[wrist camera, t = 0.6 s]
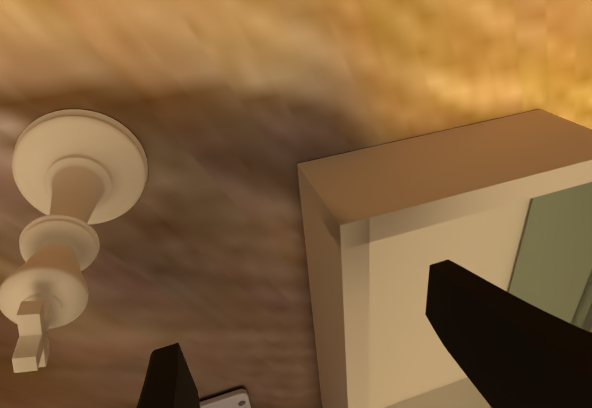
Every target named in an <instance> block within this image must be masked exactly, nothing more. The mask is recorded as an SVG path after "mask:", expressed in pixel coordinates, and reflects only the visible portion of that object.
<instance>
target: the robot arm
mask: <svg viewBox="0 0 592 408" xmlns="http://www.w3.org/2000/svg"><path fill="white" fill-rule="evenodd" d="M425 315H426V317H427V318H428V320H429V322H430V324H431V325H432V327H433V329H434V331H435V332H436V334H437V335H438V337H439V339H440V340H441V342H442V344H443V345H444V347H445V348H446V349H447V351H448V352H449V353H450V355H451V356H452V357H453V359H454V360H455V361H456V362H457V364H458V365H459V366H460V368H461V369H462V370H463V372H464V373H465V374H466V375H467V377H468V378H469V379H470V381H471V382H472V383H473V384H474V386H475V387H476V388H477V390H478V391H479V392H480V393H481V395H482V396H483V397H484V399H485V400H486V401H487V403H488V404H489V405H490V406H491V408H592V333H591V332H589V331H586V330H584V329H582V328H579V327H577V326H575V325H573V324H570V323H568V322H566V321H564V320H562V319H560V318H558V317H556V316H554V315H552V314H549V313H547V312H545V311H543V310H541V309H539V308H537V307H535V306H533V305H531V304H529V303H527V302H526V301H524V300H522V299H520V298H518V297H516V296H514V295H512V294H510V293H509V292H507V291H505V290H503V289H501V288H499V287H498V286H496V285H494V284H492V283H490V282H489V281H487V280H485V279H483V278H481V277H480V276H478V275H476V274H474V273H472V272H471V271H469V270H467V269H465V268H464V267H462V266H460V265H458V264H456V263H454V262H452V261H451V260H449V259H448V260H444V261H441V262H438V263H435V264H431V265H430V266H429V277H428V289H427V300H426V312H425ZM137 408H251V405H250V401H249V397H248V394H247V391H246V390H244V389H238V390H235V391H232V392H229V393H226V394H223V395H220V396H217V397H214V398H211V399H208V400H205V401H202V402H199V397H198V391H197V388H196V386H195V383H194V381H193V378H192V376H191V373H190V371H189V368H188V366H187V363H186V361H185V358H184V356H183V353H182V351H181V348H180V346H179V343H176V344H173V345H169V346H166V347H163V348H160V349H156V350H154V351H153V352H152V354H151V356H150V361H149V365H148V369H147V373H146V377H145V381H144V385H143V388H142V392H141V395H140V398H139V402H138V405H137Z"/></svg>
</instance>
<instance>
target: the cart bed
mask: <svg viewBox="0 0 592 408" xmlns="http://www.w3.org/2000/svg"><path fill="white" fill-rule="evenodd" d="M297 170H298V180H299V189H300V199H301V209H302V218H303V228H304V238H305V248H306V257H307V267H308V277H309V286H310V296H311V306H312V316H313V325H314V335H315V345H316V354H317V364H318V374H319V383H320V393H321V403H322V408H491V406H490V405H489V404H488V403H487V401H486V400H485V399H484V397H483V396H482V395H481V393H480V392H479V391H478V390H477V388H476V387H475V386H474V384H473V383H472V382H471V381H470V379H469V378H468V377H467V375H466V374H465V373H464V372H463V370H462V369H461V368H460V366H459V365H458V364H457V362H456V361H455V360H454V359H453V357H452V356H451V355H450V353H449V352H448V351H447V349H446V348H445V347H444V345H443V344H442V342H441V340H440V339H439V337H438V335H437V334H436V332H435V331H434V329H433V327H432V325H431V324H430V322H429V320H428V318H427V317H426V315H425V312H426V300H427V289H428V277H429V266H430V265H431V264H435V263H438V262H441V261H444V260H448V259H449V260H451V261H452V262H454V263H456V264H458V265H460V266H462V267H464V268H465V269H467V270H469V271H471V272H472V273H474V274H476V275H478V276H480V277H481V278H483V279H485V280H487V281H489V282H490V283H492V284H494V285H496V286H498V287H499V288H501V289H503V290H505V291H507V292H509V290H510V286H511V282H512V278H513V274H514V270H515V266H516V263H517V259H518V255H519V251H520V247H521V243H522V239H523V236H524V232H525V228H526V224H527V220H528V216H529V212H530V208H531V205H532V201H533V198H534V197H538V196H542V195H545V194H549V193H553V192H556V191H560V190H564V189H567V188H571V187H574V186H578V185H582V184H585V183H589V182H592V130H591V129H589V128H586V127H584V126H581V125H579V124H576V123H574V122H571V121H569V120H566V119H564V118H561V117H559V116H556V115H554V114H551V113H549V112H546V111H544V110H541V109H538V110H534V111H529V112H525V113H521V114H516V115H512V116H507V117H503V118H498V119H494V120H489V121H485V122H481V123H476V124H472V125H467V126H463V127H458V128H454V129H449V130H445V131H441V132H436V133H432V134H427V135H423V136H418V137H414V138H409V139H405V140H400V141H396V142H392V143H387V144H383V145H378V146H374V147H369V148H365V149H360V150H356V151H352V152H347V153H343V154H338V155H334V156H329V157H325V158H320V159H316V160H312V161H307V162H303V163H298V164H297Z"/></svg>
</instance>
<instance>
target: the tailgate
mask: <svg viewBox="0 0 592 408" xmlns="http://www.w3.org/2000/svg"><path fill="white" fill-rule="evenodd" d="M509 293H510V294H512V295H514V296H516V297H518V298H520V299H522V300H524V301H526V302H527V303H529V304H531V305H533V306H535V307H537V308H539V309H541V310H543V311H545V312H547V313H549V314H552V315H554V316H556V317H558V318H560V319H562V320H564V321H566V322H568V323H570V324H573V325H575V326H577V327H579V328H582V329H584V330H586V331H589V332H590V329H591V327H592V182H589V183H585V184H582V185H578V186H574V187H571V188H567V189H564V190H560V191H556V192H553V193H549V194H545V195H542V196H538V197H534V198H533V201H532V205H531V208H530V212H529V216H528V220H527V224H526V228H525V232H524V236H523V239H522V243H521V247H520V251H519V255H518V259H517V263H516V266H515V270H514V274H513V278H512V282H511V286H510V290H509Z"/></svg>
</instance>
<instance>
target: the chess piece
mask: <svg viewBox="0 0 592 408" xmlns="http://www.w3.org/2000/svg"><path fill="white" fill-rule="evenodd" d="M12 172H13V176H14V180H15V182H16V185H17V187H18V189H19V190H20V192H21V193H22V195H23V196H24V197H25V199H26V200H27V201H28V202H29V203H30V204H31V205H33V206H34V207H35V208H36V209H38V210H39V211H41V212H42V213H44V214H46V216H43V217H40V218H37V219H35V220H33V221H32V222H30V223H29V224H28V225H27V226H26V227H25V228H24V229H23V231H22V233H21V235H20V239H19V246H20V252H21V255H22V257H23V259H24V260H25V261H26V263H24V264H23V265H21V266H20V267H18V268H17V269H16V270H15V271H13V272H12V273H11V274H10V275H9V276H8V277H7V278H6V279H5V280H4V282H3V283H2V284H1V286H0V310H1V311H2V313H3V314H4V315H5V316H6V317H7V318H8V319H10V320H11V321H13V322H14V323H16V324H18V330H19V339H18V342H17V345H16V348H15V351H14V354H13V357H12V363H13V369H14V373H17V372H27V371H38V367H46V364H47V360H48V356H49V345H48V336H47V333H48V329H51V328H56V327H60V326H63V325H66V324H68V323H70V322H72V321H73V320H75V319H76V318H78V317H79V316H80V315H81V314H82V312H83V311H84V310H85V308H86V306H87V303H88V289H87V285H86V282H85V279H84V277H83V275H82V273H81V271H82V270H84V269H85V268H87V267H88V266H89V265H90V264H91V263H92V262H93V261H94V259H95V258H96V256H97V255H98V252H99V248H100V242H99V238H98V235H97V233H96V232H95V230H94V229H93V228H92V227H91V226H90V225H89V224H97V223H103V222H106V221H110V220H112V219H115V218H117V217H119V216H121V215H122V214H124V213H126V212H127V211H128V210H129V209H131V208H132V207H133V206H134V205H135V203H136V202H137V201H138V199H139V198H140V196H141V194H142V192H143V190H144V187H145V184H146V181H147V176H148V163H147V158H146V155H145V152H144V150H143V147H142V146H141V144H140V142H139V141H138V139H137V138H136V137H135V136H134V135H133V133H132V132H131V131H130V130H129V129H127V128H126V127H125V126H124V125H122V124H121V123H119V122H118V121H116V120H114V119H113V118H111V117H108V116H106V115H104V114H101V113H98V112H94V111H89V110H82V109H66V110H59V111H55V112H51V113H48V114H46V115H43V116H41V117H39V118H38V119H36V120H35V121H33V122H32V123H31V124H29V125H28V126H27V127H26V128H25V129H24V131H23V132H22V133H21V135H20V136H19V138H18V140H17V142H16V145H15V149H14V153H13V158H12Z"/></svg>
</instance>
